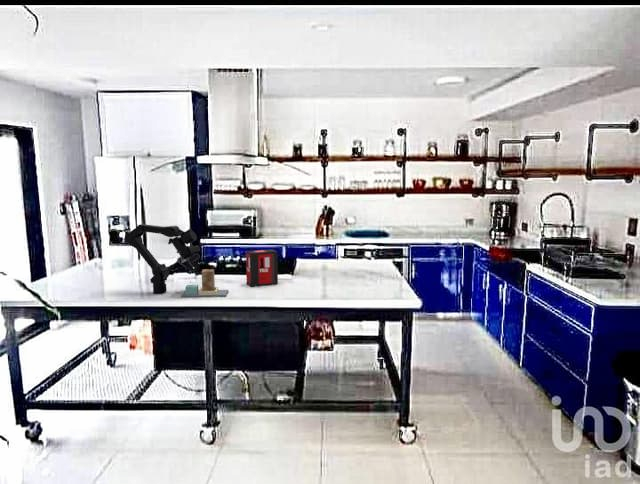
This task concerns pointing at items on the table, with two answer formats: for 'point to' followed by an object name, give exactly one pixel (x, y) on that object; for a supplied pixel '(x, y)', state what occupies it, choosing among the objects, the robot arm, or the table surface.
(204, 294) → the board
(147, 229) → the robot arm
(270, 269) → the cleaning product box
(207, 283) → the pillar
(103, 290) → the table surface
